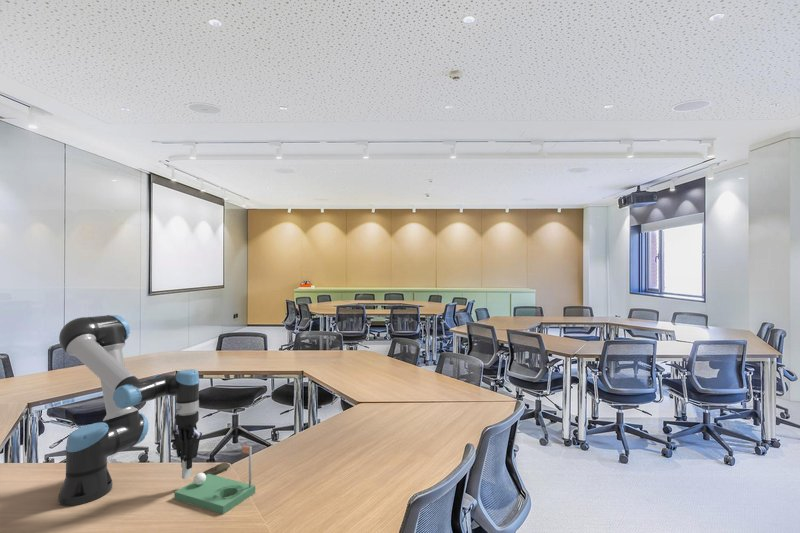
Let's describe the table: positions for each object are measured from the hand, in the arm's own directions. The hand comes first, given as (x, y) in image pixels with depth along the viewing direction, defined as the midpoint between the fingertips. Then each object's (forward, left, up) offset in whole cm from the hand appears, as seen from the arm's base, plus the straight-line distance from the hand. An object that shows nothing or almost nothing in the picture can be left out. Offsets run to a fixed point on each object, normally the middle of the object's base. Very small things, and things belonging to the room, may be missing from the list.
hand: (186, 476), depth 143 cm
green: (+15, 0, -4) cm, 16 cm away
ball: (+7, 0, +1) cm, 7 cm away
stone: (-1, +12, -5) cm, 13 cm away
